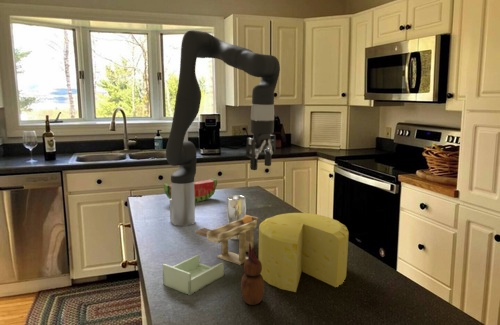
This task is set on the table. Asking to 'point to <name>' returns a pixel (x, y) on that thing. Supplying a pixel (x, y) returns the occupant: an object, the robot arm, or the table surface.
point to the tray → (191, 275)
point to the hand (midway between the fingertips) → (260, 167)
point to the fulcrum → (244, 241)
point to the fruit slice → (198, 189)
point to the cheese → (302, 249)
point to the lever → (227, 230)
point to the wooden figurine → (252, 280)
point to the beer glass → (235, 209)
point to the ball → (247, 219)
